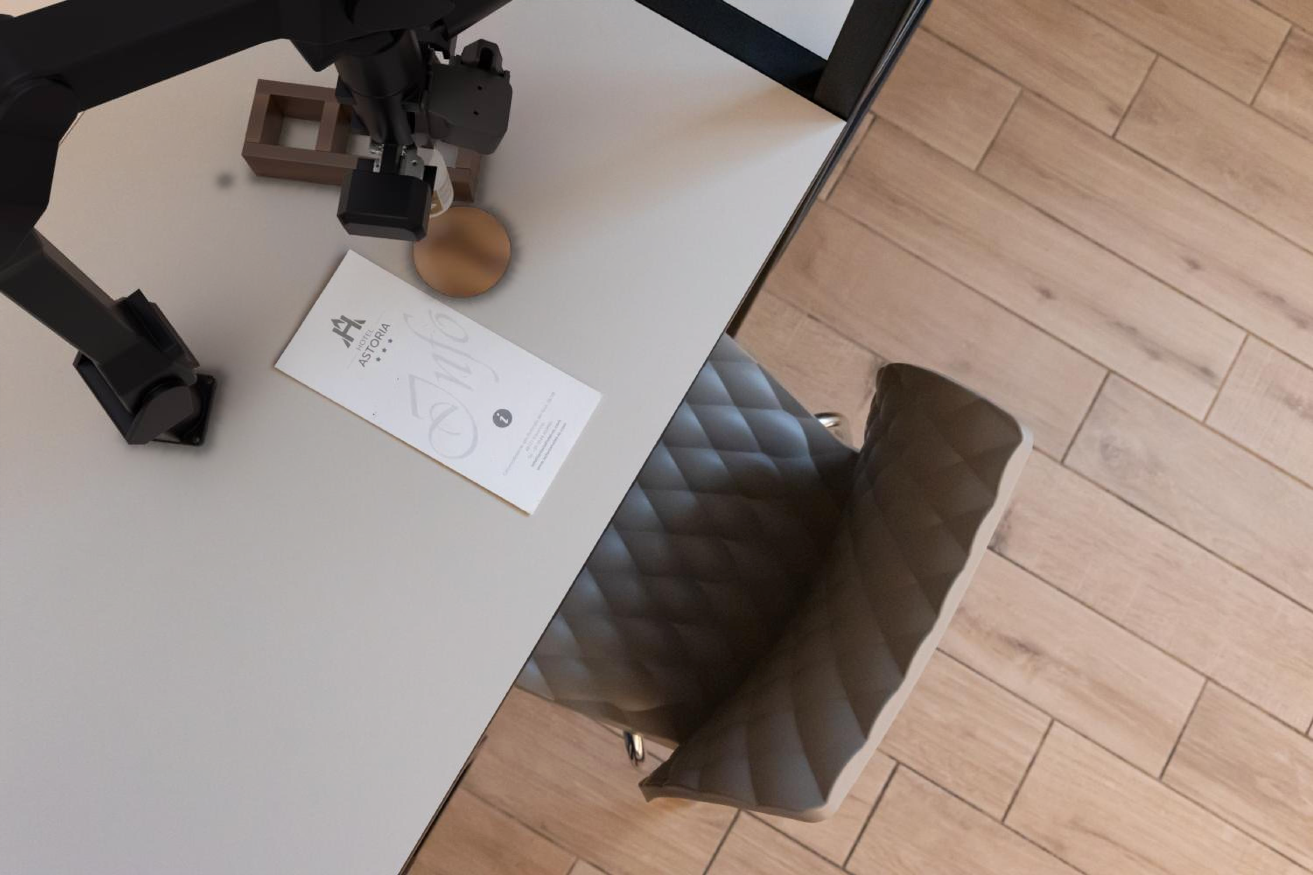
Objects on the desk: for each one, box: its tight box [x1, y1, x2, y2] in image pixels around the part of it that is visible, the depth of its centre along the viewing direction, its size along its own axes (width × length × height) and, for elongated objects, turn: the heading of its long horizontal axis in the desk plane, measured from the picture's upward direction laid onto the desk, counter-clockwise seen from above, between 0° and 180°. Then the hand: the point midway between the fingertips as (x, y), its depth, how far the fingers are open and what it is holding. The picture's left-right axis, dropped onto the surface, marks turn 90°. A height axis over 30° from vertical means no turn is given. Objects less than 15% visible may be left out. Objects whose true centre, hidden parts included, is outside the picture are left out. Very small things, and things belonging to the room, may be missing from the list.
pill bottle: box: [402, 146, 454, 219], centre depth 82 cm, size 4×4×8 cm
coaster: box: [412, 205, 512, 298], centre depth 92 cm, size 9×9×1 cm
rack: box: [240, 78, 483, 203], centre depth 92 cm, size 8×21×4 cm, turn 84°
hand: (419, 171), depth 82 cm, fingers closed on pill bottle, 4 cm apart
